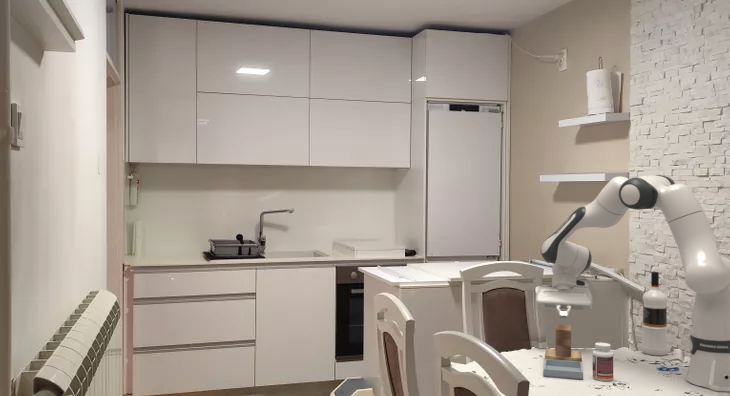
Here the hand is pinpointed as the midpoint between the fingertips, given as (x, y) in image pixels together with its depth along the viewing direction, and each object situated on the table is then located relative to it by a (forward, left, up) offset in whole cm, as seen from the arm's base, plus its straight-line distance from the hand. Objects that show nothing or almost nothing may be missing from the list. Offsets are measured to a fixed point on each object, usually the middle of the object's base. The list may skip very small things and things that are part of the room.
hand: (563, 317), depth 230 cm
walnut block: (0, +12, -10) cm, 16 cm away
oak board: (0, +12, -14) cm, 18 cm away
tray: (0, +24, -14) cm, 28 cm away
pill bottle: (-12, +27, -14) cm, 33 cm away
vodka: (-32, -13, -14) cm, 37 cm away
